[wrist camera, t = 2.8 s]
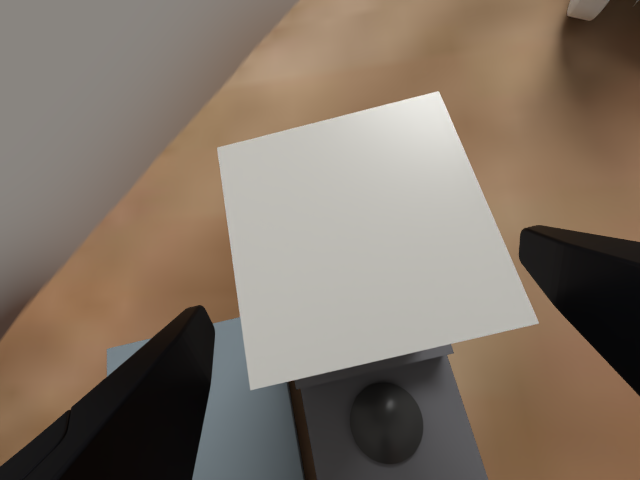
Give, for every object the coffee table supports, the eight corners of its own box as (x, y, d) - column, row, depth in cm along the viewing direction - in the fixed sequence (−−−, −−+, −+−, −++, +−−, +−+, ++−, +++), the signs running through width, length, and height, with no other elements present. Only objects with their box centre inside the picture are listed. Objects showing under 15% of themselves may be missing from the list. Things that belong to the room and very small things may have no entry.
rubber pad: (311, 516, 15) (310, 520, 14) (113, 559, 15) (107, 564, 14) (275, 309, 18) (274, 309, 17) (112, 348, 18) (106, 349, 17)
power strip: (507, 586, 13) (570, 687, 9) (353, 618, 13) (353, 730, 10) (395, 234, 18) (407, 207, 14) (285, 261, 18) (267, 241, 15)
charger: (414, 333, 14) (538, 323, 5) (319, 356, 14) (250, 390, 5) (386, 243, 15) (438, 91, 6) (300, 263, 16) (217, 147, 6)
